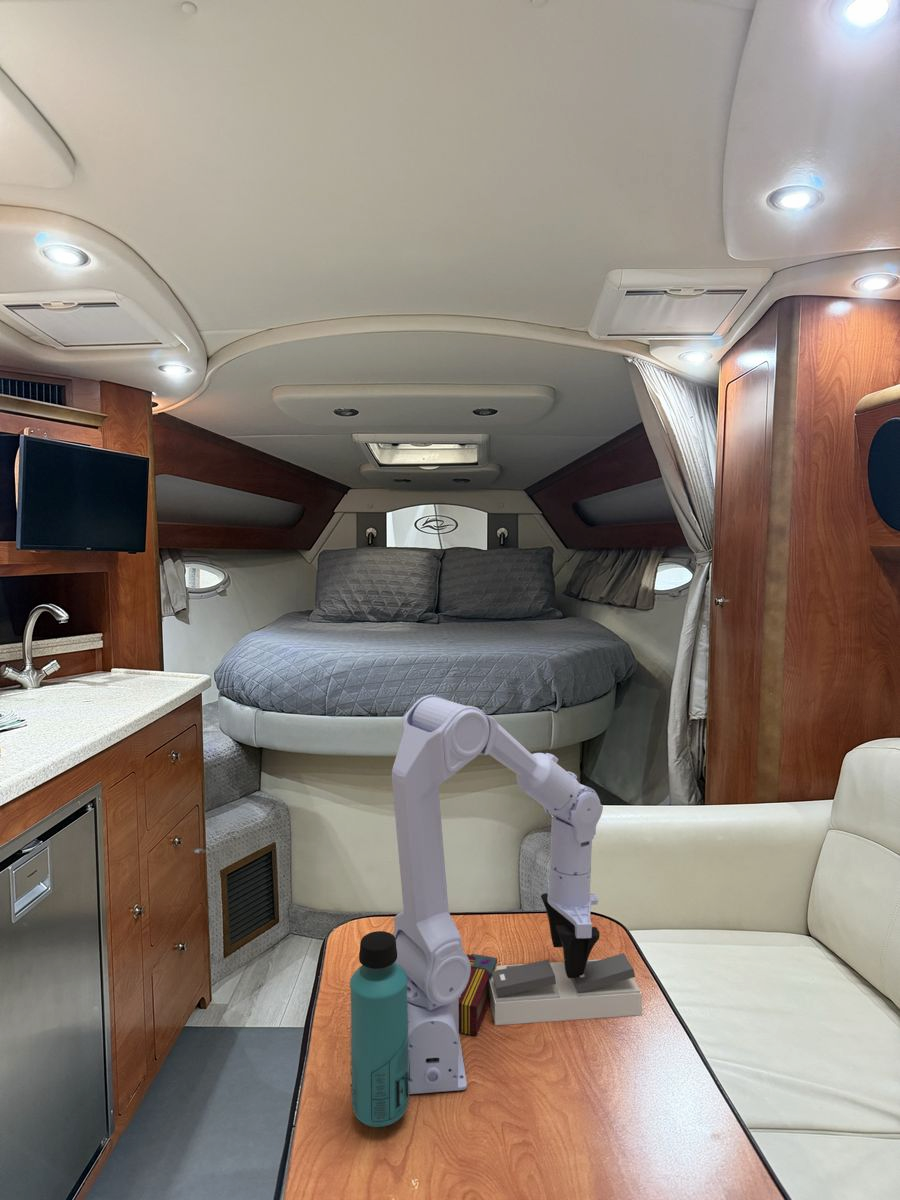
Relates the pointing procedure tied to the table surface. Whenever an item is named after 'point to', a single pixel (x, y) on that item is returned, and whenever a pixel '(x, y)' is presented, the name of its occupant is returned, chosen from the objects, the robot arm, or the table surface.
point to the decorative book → (475, 994)
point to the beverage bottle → (379, 1033)
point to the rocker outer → (604, 973)
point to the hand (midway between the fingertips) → (567, 960)
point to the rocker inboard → (523, 977)
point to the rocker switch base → (564, 1000)
